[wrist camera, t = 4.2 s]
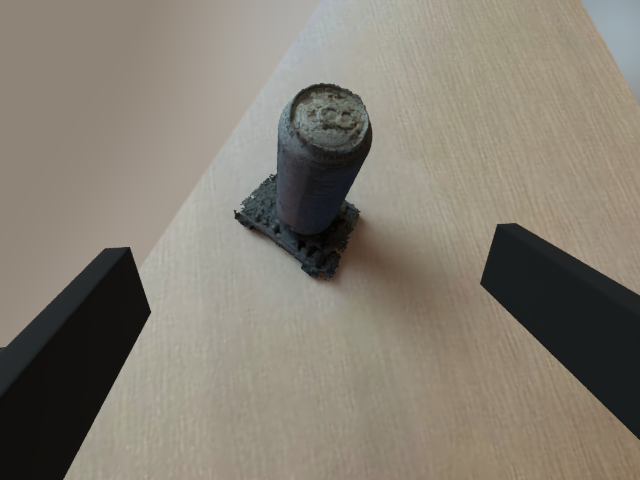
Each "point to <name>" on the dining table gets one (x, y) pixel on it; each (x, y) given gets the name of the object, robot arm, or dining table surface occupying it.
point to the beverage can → (313, 177)
